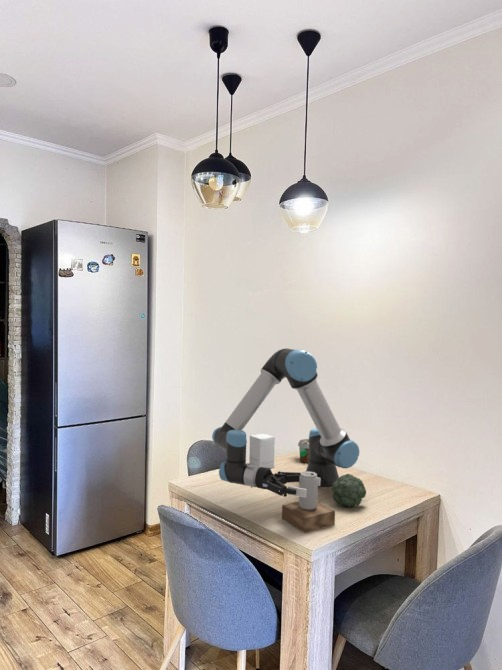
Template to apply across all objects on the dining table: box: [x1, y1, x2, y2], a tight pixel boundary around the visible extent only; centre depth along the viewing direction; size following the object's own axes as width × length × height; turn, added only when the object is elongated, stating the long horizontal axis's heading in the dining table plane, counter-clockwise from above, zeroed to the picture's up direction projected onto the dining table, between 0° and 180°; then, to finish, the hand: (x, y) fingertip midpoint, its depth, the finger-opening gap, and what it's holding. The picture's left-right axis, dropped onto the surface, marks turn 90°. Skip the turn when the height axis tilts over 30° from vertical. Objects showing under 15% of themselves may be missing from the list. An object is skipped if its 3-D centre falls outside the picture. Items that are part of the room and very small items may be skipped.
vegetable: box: [331, 473, 367, 508], centre depth 185 cm, size 12×13×15 cm
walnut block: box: [281, 500, 336, 534], centre depth 167 cm, size 13×13×5 cm
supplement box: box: [248, 433, 276, 469], centre depth 230 cm, size 9×9×15 cm
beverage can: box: [298, 470, 319, 510], centre depth 166 cm, size 6×6×12 cm
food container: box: [297, 438, 309, 465], centre depth 241 cm, size 12×6×10 cm, turn 178°
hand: (313, 487), depth 165 cm, fingers open, 13 cm apart
